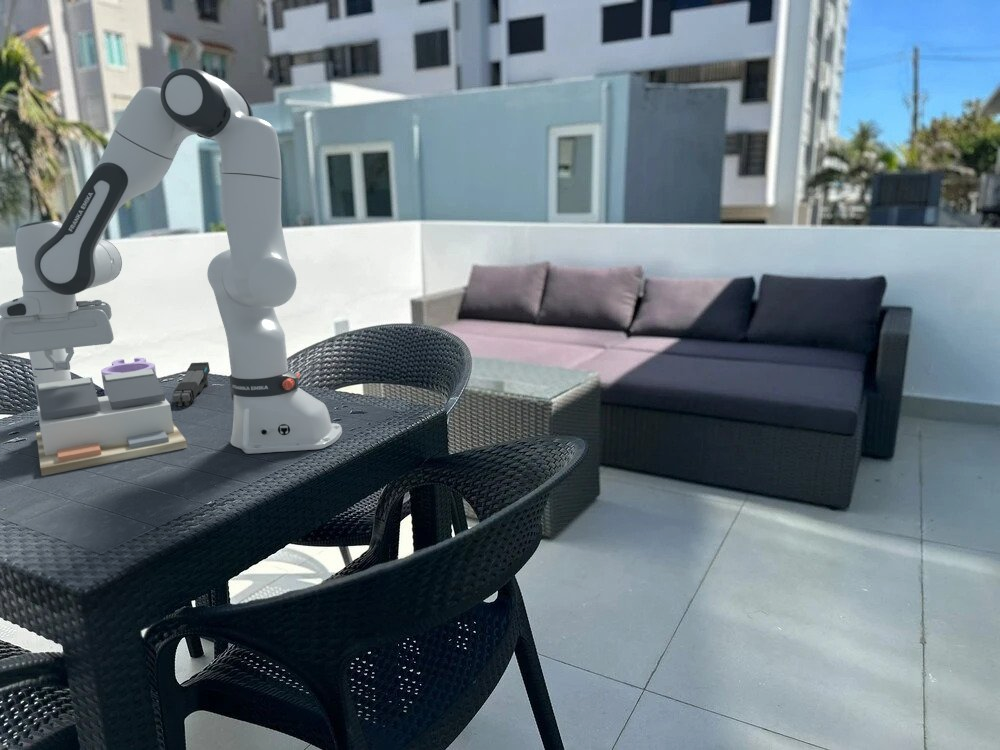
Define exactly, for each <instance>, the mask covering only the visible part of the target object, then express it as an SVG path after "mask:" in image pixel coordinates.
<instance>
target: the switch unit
mask: <svg viewBox="0 0 1000 750" xmlns="http://www.w3.org/2000/svg"><path fill="white" fill-rule="evenodd" d="M97 397H98V400H99V404H100V410H101V411H97V412H91V413H85V414H78V415H72V416H65V417H59V418H53V419H46V420H42V418H41V413H40V407H39V405H37V406H36V408H37V415H38V422H39V430H40V431H37V432H36V440H37V449H38V459H39V468H40V472H41V476H42V477H44V476H49V475H55V474H59V473H65V472H69V471H75V470H79V469H85V468H90V467H95V466H100V465H104V464H105V465H106V464H111V463H114V462H115V463H116V462H120V461H127V460H130V459H131V460H132V459H137V458H141V457H147V456H151V455H158V454H162V453H167V452H172V451H177V450H182V449H183V450H184V449H188V443H187V440H186V438H185V437H184V436H183V434H182V432H181V431H180V430H179V429H178V427H177V426H176V425H175V423H174V421H173V413H172V407H171V403H170V402H169V401H168V400H167V399H166V398H165V401H160V402H154V403H147V404H141V405H135V406H128V407H122V408H116V409H112V408H111V405H110V402H109V399H108V396H105V395H104V396H97Z"/></svg>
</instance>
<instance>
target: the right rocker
mask: <svg viewBox="0 0 1000 750" xmlns="http://www.w3.org/2000/svg"><path fill="white" fill-rule="evenodd" d="M102 377H103V380H102V384H103V383H104V386H103V388H104V387H105V390H106V393H107V396H108V399H109V402H110V405H111V408H112V409H116V408H122V407H128V406H135V405H141V404H147V403H154V402H160V401H165V399H166V394H165V392H164V389H163V387H162V385H161V383H160V381H159V378H158V376H157V373H156V374H155V371H154V369H146V370H139V371H131V372H124V373H116V374H109V375H105V376H102V375H101V378H102Z"/></svg>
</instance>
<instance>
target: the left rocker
mask: <svg viewBox="0 0 1000 750" xmlns="http://www.w3.org/2000/svg"><path fill="white" fill-rule="evenodd" d="M36 389H37V393H36V396H37V395H38V398H37V402H38V401H39V404H38V406H39V407H40V413H41V418H42V420H46V419H53V418H59V417H65V416H72V415H78V414H85V413H91V412H97V411H101V410H100V404H99V400H98V397H99V396H98V393H97V391H96V388H95V383H94V381H93V377H90V376H89V377H87V376H86V377H81V378H75V379H74V378H71V380H65V381H57V382H50V383H42V384H38V385H36V388H35V390H36Z"/></svg>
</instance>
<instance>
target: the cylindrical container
mask: <svg viewBox="0 0 1000 750" xmlns="http://www.w3.org/2000/svg"><path fill="white" fill-rule="evenodd" d="M52 352H53V355H51V356H52V357H53V359H54V360H55V361H64V360H65V359H66V357H67V355H68V353H66V351H65V348H64V349H55V350H52ZM28 354H29V359H30V365H31V369H32V375H33V381H34V386H35V391H36V393H35V394H36V398H37V399H38V395H37V389H36V385H38V384H42V383H50V382H57V381H65V380H72V375H71V369H70V370H62V371H54V369H53V363H51V362H50V361H49V360H48V359H47V357H46V356H45V353H44V351H36V352H28ZM37 403H38V405H39V401H38V400H37Z"/></svg>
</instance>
